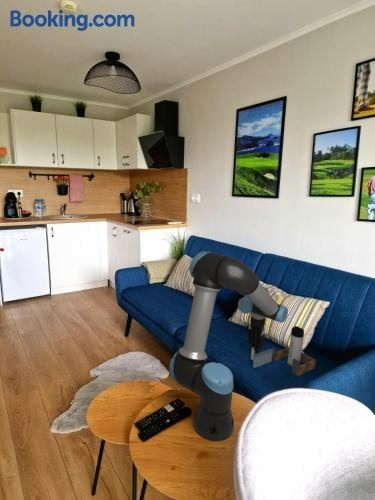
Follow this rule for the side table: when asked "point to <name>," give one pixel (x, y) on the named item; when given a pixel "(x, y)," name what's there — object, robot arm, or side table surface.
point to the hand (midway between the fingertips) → (253, 358)
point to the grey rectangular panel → (262, 358)
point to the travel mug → (295, 345)
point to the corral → (295, 361)
